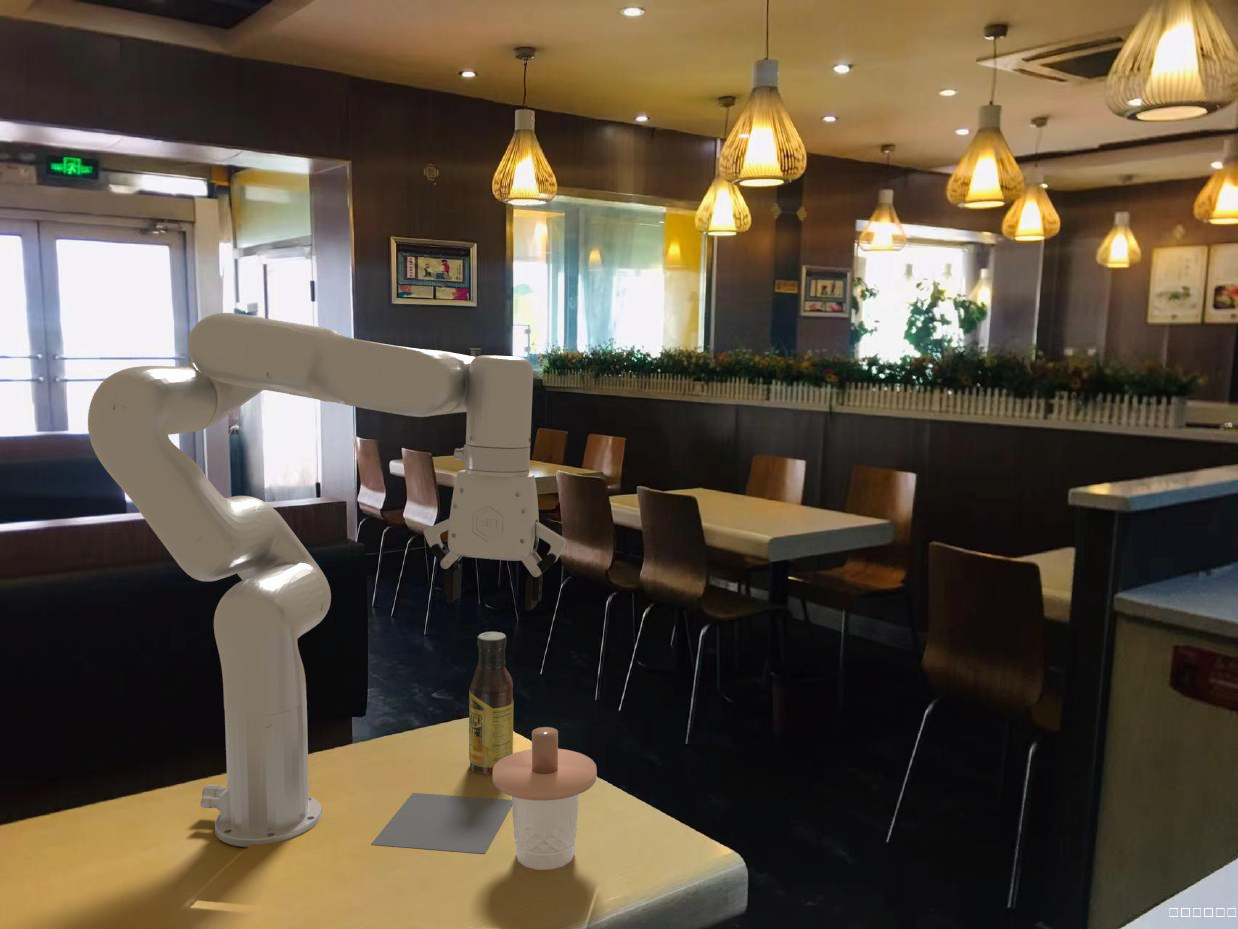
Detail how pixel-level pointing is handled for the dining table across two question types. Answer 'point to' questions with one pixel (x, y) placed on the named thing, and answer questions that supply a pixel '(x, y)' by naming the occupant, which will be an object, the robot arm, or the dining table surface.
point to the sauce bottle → (490, 705)
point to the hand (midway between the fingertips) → (492, 603)
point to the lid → (544, 770)
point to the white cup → (545, 831)
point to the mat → (445, 823)
